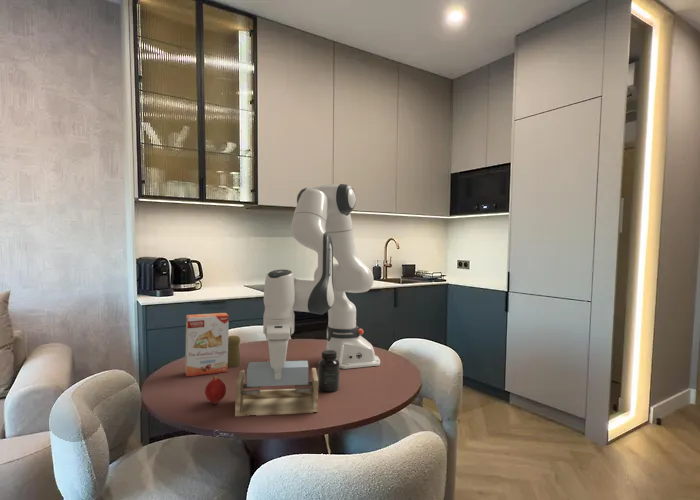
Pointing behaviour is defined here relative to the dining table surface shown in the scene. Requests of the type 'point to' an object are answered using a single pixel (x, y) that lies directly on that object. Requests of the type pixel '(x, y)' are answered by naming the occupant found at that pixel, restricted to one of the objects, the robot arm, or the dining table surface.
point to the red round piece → (215, 390)
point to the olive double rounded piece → (233, 351)
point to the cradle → (275, 399)
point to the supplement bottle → (328, 372)
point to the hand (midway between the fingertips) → (278, 374)
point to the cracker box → (206, 344)
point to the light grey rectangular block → (266, 376)
